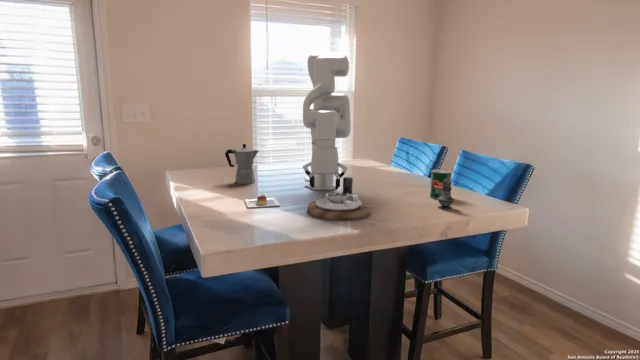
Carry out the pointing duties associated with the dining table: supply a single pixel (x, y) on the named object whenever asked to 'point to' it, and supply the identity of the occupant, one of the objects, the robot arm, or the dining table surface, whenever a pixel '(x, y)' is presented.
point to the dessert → (262, 201)
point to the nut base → (338, 213)
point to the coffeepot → (243, 164)
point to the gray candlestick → (446, 195)
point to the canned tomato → (438, 182)
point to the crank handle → (340, 199)
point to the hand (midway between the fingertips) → (324, 188)
